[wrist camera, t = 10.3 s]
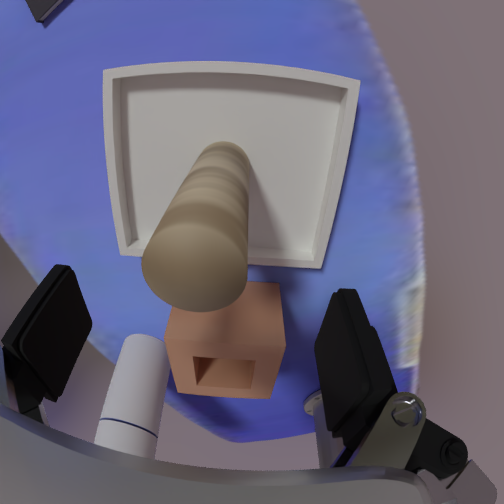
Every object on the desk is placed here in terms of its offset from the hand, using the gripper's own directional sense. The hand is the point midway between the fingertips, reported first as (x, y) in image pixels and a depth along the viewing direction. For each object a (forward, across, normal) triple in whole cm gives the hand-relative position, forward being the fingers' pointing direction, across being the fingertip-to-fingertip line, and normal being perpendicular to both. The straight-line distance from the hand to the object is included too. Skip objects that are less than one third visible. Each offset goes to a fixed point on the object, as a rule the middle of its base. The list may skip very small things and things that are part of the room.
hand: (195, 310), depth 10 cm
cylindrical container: (+16, +10, +25) cm, 32 cm away
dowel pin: (+14, 0, -1) cm, 14 cm away
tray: (+15, 0, -1) cm, 15 cm away
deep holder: (+16, 0, +16) cm, 22 cm away
